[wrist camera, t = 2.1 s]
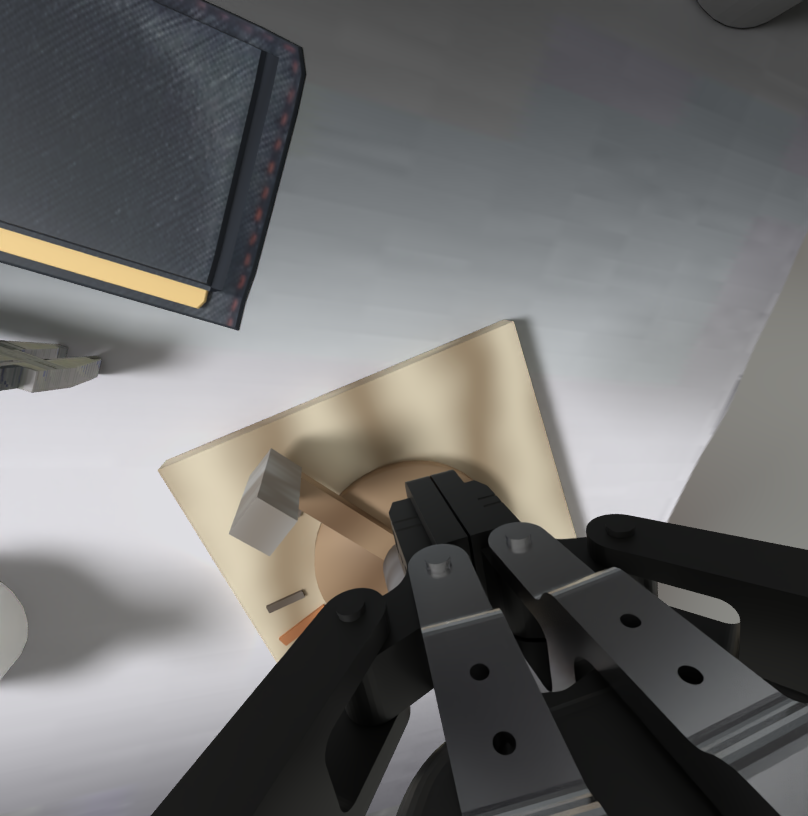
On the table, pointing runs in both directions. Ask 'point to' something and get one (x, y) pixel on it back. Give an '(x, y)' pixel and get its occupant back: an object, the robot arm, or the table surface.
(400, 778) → the table surface
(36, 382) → the caliper
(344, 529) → the dial
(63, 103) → the dark grey flat block
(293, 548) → the dial board
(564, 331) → the table surface
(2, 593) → the cylinder with rectangular tab
